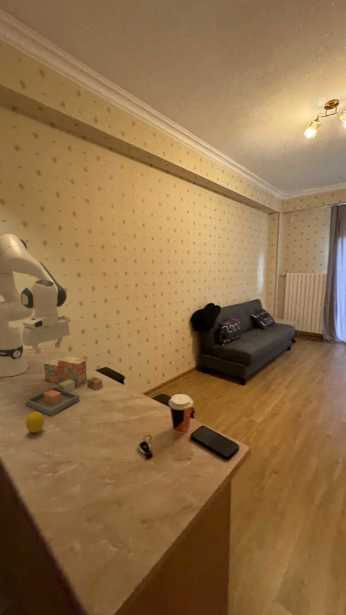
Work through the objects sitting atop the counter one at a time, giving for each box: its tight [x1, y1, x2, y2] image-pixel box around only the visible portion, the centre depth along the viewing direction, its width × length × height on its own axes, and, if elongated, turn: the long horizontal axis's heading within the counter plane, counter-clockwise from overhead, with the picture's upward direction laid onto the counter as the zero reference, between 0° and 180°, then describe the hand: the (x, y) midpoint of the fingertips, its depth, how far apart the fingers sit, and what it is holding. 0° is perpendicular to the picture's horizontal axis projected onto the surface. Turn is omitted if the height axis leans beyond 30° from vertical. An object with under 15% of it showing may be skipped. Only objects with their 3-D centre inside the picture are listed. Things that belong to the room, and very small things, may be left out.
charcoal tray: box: [25, 386, 80, 418], centre depth 114 cm, size 16×14×2 cm
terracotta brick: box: [42, 390, 61, 406], centre depth 114 cm, size 6×4×4 cm, turn 61°
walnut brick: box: [86, 376, 103, 391], centre depth 129 cm, size 6×4×4 cm, turn 56°
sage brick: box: [57, 379, 76, 392], centre depth 126 cm, size 4×6×4 cm, turn 146°
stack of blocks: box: [43, 356, 88, 388], centre depth 135 cm, size 21×6×12 cm, turn 70°
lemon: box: [25, 411, 45, 434], centre depth 94 cm, size 6×6×8 cm
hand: (48, 350), depth 115 cm, fingers open, 8 cm apart
